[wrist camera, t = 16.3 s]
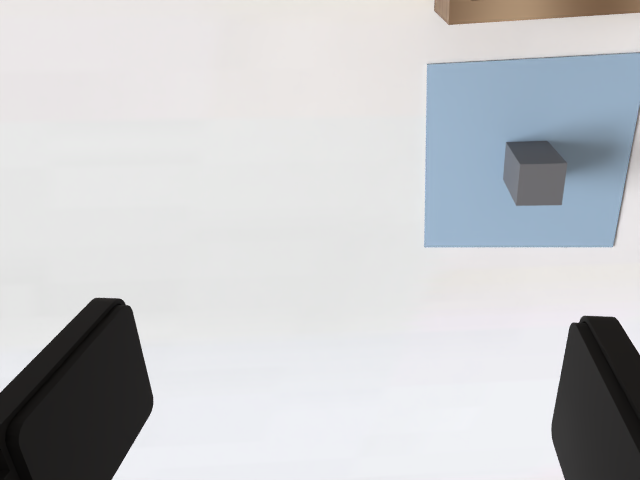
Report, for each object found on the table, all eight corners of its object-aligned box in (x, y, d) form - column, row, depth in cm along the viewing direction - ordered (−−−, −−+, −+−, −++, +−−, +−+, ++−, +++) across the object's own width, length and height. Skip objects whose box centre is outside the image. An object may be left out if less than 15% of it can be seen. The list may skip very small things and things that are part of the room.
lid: (644, 51, 37) (687, 64, 32) (609, 242, 44) (639, 281, 38) (426, 62, 39) (430, 76, 34) (424, 243, 46) (426, 279, 40)
